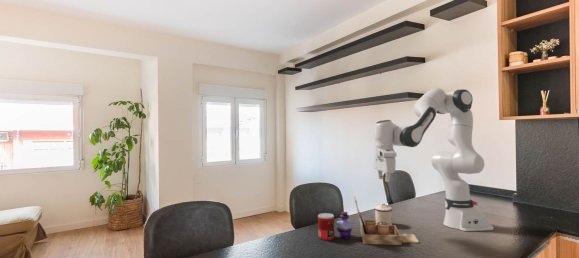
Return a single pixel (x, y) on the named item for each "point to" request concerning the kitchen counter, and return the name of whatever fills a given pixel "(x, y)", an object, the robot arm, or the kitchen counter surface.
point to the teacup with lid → (383, 213)
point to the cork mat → (409, 238)
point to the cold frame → (390, 239)
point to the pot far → (370, 226)
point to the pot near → (383, 228)
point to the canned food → (326, 226)
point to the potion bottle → (344, 226)
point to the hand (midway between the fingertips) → (384, 180)
